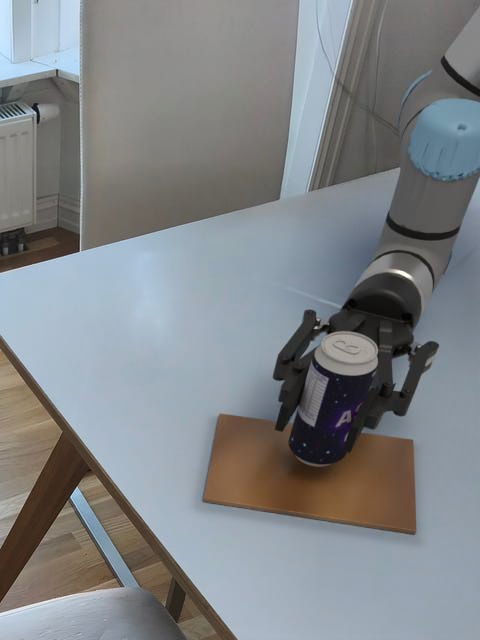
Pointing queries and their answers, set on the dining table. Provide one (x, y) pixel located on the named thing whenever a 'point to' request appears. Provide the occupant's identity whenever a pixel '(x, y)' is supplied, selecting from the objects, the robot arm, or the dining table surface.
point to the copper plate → (312, 477)
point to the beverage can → (332, 397)
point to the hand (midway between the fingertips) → (315, 428)
